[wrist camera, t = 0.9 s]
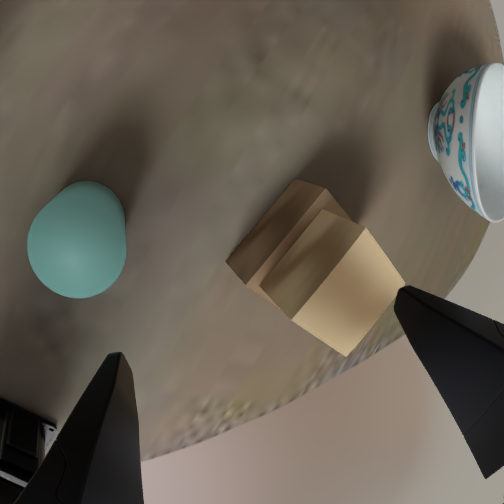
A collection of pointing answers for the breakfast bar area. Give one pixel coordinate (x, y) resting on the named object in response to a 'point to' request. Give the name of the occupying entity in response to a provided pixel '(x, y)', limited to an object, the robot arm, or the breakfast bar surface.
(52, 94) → the breakfast bar surface
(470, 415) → the robot arm
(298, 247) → the top block
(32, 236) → the teal cylinder
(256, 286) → the base block
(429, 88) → the breakfast bar surface
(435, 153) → the chinaware
